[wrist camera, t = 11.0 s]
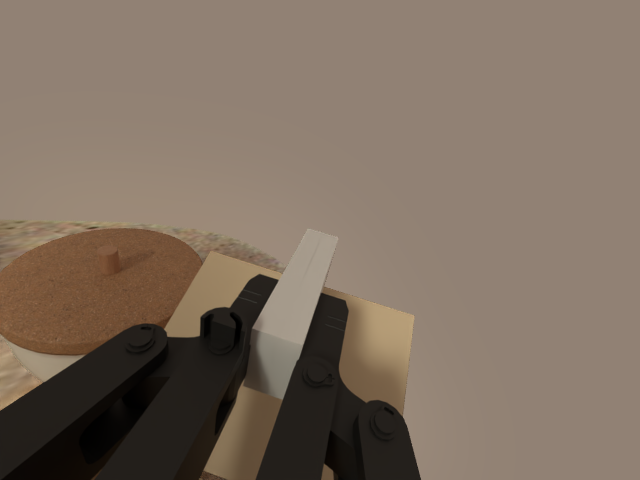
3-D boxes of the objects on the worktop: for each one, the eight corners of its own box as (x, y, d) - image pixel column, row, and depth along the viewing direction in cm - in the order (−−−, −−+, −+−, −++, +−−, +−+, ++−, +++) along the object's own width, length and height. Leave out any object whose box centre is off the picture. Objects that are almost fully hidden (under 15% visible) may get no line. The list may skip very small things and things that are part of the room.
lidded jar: (228, 360, 24) (238, 267, 19) (56, 472, 16) (-1, 361, 11) (163, 286, 29) (157, 197, 24) (8, 343, 21) (-44, 229, 16)
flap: (102, 432, 11) (210, 250, 16) (109, 432, 12) (212, 255, 16) (388, 539, 10) (414, 315, 15) (383, 535, 11) (411, 318, 15)
